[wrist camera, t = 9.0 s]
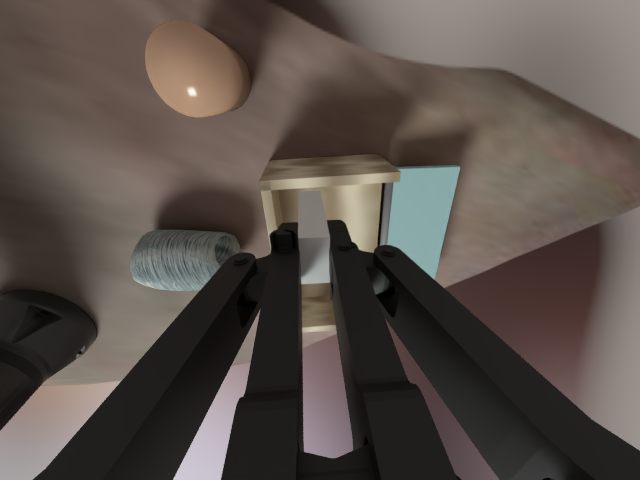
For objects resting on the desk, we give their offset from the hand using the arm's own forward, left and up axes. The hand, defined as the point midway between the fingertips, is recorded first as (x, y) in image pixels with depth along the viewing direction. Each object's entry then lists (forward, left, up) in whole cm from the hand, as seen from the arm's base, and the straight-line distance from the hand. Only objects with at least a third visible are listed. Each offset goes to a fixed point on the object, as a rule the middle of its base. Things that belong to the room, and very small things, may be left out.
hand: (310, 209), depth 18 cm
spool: (-17, -12, -17) cm, 27 cm away
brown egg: (-9, +9, -17) cm, 21 cm away
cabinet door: (+10, -11, -14) cm, 20 cm away
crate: (+2, -11, -17) cm, 20 cm away
